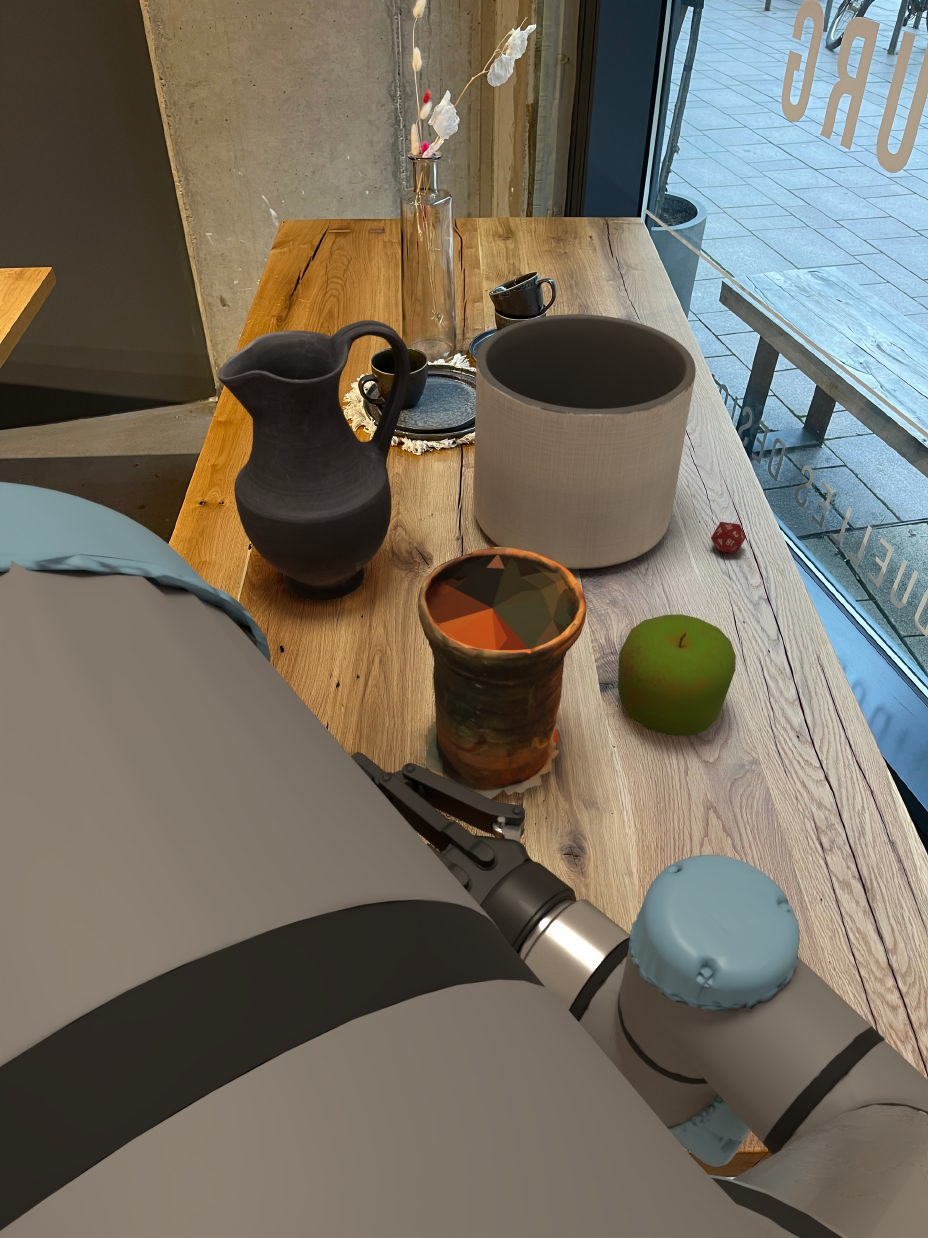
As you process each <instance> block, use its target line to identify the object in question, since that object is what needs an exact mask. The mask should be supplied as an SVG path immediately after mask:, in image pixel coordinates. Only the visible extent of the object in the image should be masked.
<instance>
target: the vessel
mask: <svg viewBox="0 0 928 1238" xmlns="http://www.w3.org/2000/svg"><path fill="white" fill-rule="evenodd" d="M417 614H418V618H419V622H420V626H421V628H422V632H423V634H424V637H425V638H426V640H427V642H428V646H429V648H430V650H431V653H432V657H433V668H432V669H433V672H432V680H433V695H434V712H435V713H434V714H435V720H434V721H433V722H432V724H433V726H432V727H430V728H429V729H428V731H427V733H426V734H423V736H424V739H425V741H426V743H427V746H426V747H427V748H426V752H425V757H424V761H425V767H426V769H427V770H429V771H431V772H434V773H436V774H438V775H440V776H442V777H444V778H446V779H448V780H451V781H453V782H455V783H457V784H459V785H461V786H463V787H466V788H468V789H470V790H472V791H474V792H476V793H478V794H480V795H483V796H485V797H487V798H489V799H493V798H495V797H497V795H498V794H500V793H501V792H502V791H503V790H504V792H505V793H506V794H507V796H509V795H511V794H513V793H514V792H515V793H519V794H522V793H524V792H525V791H526V789H529V788H532V787H538V786H541V785H542V778H541V776H542V775H544V774H547V773H549V772H551V771H552V764H553V763H552V760H553V759H554V758H555V757H557V756H558V754H559V752H560V750H558V749H555V747H556V745H557V744H558V743H559V734H558V733H559V732H558V729H556V728H555V727H556V724H557V718H558V717H557V716H558V713H559V710H560V704H561V701H562V700H561V699H562V690H563V675H564V669H565V657H566V655H567V652H568V651H569V650H571V648H572V647H573V646H574V644H576V642H577V641H578V639H579V638H580V636H581V634H582V633H583V629H584V625H585V622H586V617H587V603H586V597H585V595H584V592H583V589H582V586H581V583H580V582H579V580H578V579H577V577H575V575H574V574H573V573H572V572H571V571H570V569H566V568H565V567H564V566H562V565H560V564H559V563H557V562H555V561H553V560H551V559H548V558H546V557H544V556H541V555H539V554H537V553H534V552H529V551H524V550H520V549H514V548H508V547H500V546H492V547H485V548H482V549H476V550H475V551H471V552H470V553H467V554H463V555H460V556H457V557H454V558H452V559H450V560H449V559H448V560H447V561H445V562H443V563H441V564H439V565H437V566H435V567H434V568H433V570H432V571H431V572H430V573H429V574H428V575H427V576H425V578H424V579H423V581H422V584H421V586H420V589H419V593H418V597H417Z"/></svg>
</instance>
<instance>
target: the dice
mask: <svg viewBox="0 0 928 1238" xmlns="http://www.w3.org/2000/svg"><path fill="white" fill-rule="evenodd" d="M718 523H719V524H718V525H717V527H716V529H715V530H714V532H713V533H712V535H711V537H710V540H711V542H712V543H713V545H714V547H715V549H716V551H717V552H723V553H729V554H730V553H731V554H736V555H737V554H738V552H739V550H740V548H741V547H742V546H743V544H744V542H745V540H746V539H747V536H746V534H745V532H744V529H743V528H742V525H741V524H740V523H733V522H727V521H720V522H718Z"/></svg>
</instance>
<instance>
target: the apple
mask: <svg viewBox="0 0 928 1238" xmlns="http://www.w3.org/2000/svg"><path fill="white" fill-rule="evenodd" d="M736 658H737V655H736V653H735V650H734V646H733V643H732V641H731V640H730V639H729V638H728V637H727V636H726V634H725V633H724V632H723V630H721V629H720V628H719V627H717V626H715V625H713V624H711V623H710V622H708V621H706V620H703V619H701V618H699V617H694V616H692V615H691V616H690V615H687V614H682V613H681V614H680V613H679V614H663V615H659V616H655V617H652V618H648V619H644V620H642V621H641V622H639V623H638V624H637V625H635V626H633V627H632V628H631V629H630V631H629V633H628V635H627V636H626V638H625V641H624V643H623V645H622V647H621V649H620V651H619V652H618V672H617V673H618V674H617V693H618V697H619V702H620V705H621V706H622V708H623V710H624V711H625V713H626V714H627V716H628V717H629V719H630V720H632V722H633V721H634V722H635V723H637V725H640V726H641V727H643V728H645V729H646V730H648V731H652V732H654V733H658V734H661V735H664V736H668V737H669V736H671V737H690V736H694V735H697V734H700V733H704V732H706V731H708V730H709V728H711V726H712V725H714V724H715V722H717V720H718V719H719V716H720V713H721V711H722V709H723V706H724V704H725V701H726V698H727V696H728V692H729V690H730V687H731V683H732V681H733V678H734V676H735V673H736V662H737V661H736V660H737V659H736Z"/></svg>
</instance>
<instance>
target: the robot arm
mask: <svg viewBox="0 0 928 1238" xmlns="http://www.w3.org/2000/svg"><path fill="white" fill-rule="evenodd" d="M271 657H272V655H271V650H270V647H269V642H268V639H267V637H266V635H265V633H264V631H263V630H262V629H261V626H259V624H258V623H257V622H256V620H255V619H254V618H253V617H252V615H251V613H249V611H248V609H246V608H245V606H243V605H242V604H241V603H240V602H239V600H237V599H236V598H234V597H233V596H232V595H230V594H229V593H228V592H226V591H225V590H223V589H221V588H218V587H215V586H212V585H211V584H209V583H207V582H206V581H205V580H204V578H203V577H202V576H200V574H199V573H198V572H197V571H196V570H195V569H194V568H193V567H192V566H191V564H189V563H188V562H187V561H186V559H184V558H183V556H181V554H179V553H178V552H177V551H176V550H175V549H174V547H172V546H170V544H168V542H166V541H165V540H164V539H163V538H161V537H160V536H159V535H157V534H155V533H154V532H153V531H151V530H150V529H149V528H148V527H145V526H144V525H143V524H141V523H139V522H137V521H135V520H134V519H132V518H130V517H128V516H127V515H125V514H123V513H122V512H121V513H120V512H118V511H116V510H114V509H112V508H110V507H107V506H105V505H103V504H99V503H97V502H94V501H91V500H88V499H86V498H83V497H80V496H77V495H73V494H70V493H66V492H63V491H58V490H55V489H50V488H45V487H41V486H40V487H39V486H35V485H30V484H21V483H13V482H5V481H0V1238H928V1078H927V1077H926V1076H924V1074H922V1073H921V1072H920V1071H919V1070H918V1069H917V1068H916V1067H915V1066H914V1065H913V1064H911V1062H909V1061H908V1060H907V1058H905V1057H904V1056H903V1055H902V1054H901V1053H900V1052H898V1050H896V1049H895V1048H894V1047H893V1046H892V1045H891V1044H890V1043H889V1042H887V1041H886V1039H885V1036H883V1035H882V1034H881V1033H879V1032H878V1030H877V1029H876V1028H875V1027H874V1026H873V1025H872V1024H871V1023H869V1021H867V1020H866V1018H864V1017H863V1016H862V1015H861V1014H860V1013H859V1012H858V1011H857V1010H856V1009H855V1008H854V1007H852V1006H851V1004H849V1003H848V1002H847V1001H846V999H844V998H843V997H842V996H841V995H840V994H839V993H838V992H837V991H835V990H834V989H833V988H832V987H831V986H830V985H829V984H828V983H827V982H826V980H824V979H823V978H822V977H821V976H820V975H819V974H818V973H816V972H815V971H814V970H813V969H812V968H811V967H810V966H809V965H808V964H806V963H805V961H803V960H802V959H801V958H800V957H799V948H800V941H801V939H800V938H801V936H800V935H801V934H800V925H799V920H798V919H797V917H796V915H795V911H794V909H793V907H792V906H791V904H790V902H789V901H790V900H789V899H788V898H787V895H786V894H785V892H784V891H783V889H782V888H781V887H780V885H778V883H776V881H774V880H773V879H772V878H771V877H770V876H769V875H767V874H766V873H765V872H763V871H762V870H760V869H759V868H757V867H756V866H754V865H751V864H750V863H748V862H745V861H743V860H740V859H738V858H734V857H730V856H726V855H720V854H719V855H718V854H699V855H693V856H689V857H686V858H682V859H680V860H677V861H675V862H673V863H672V864H669V865H668V866H666V867H665V868H663V870H662V871H661V872H659V874H658V875H657V876H656V877H655V878H654V879H653V881H652V882H651V883H650V885H649V887H648V889H647V891H646V894H645V896H644V899H643V901H642V904H641V907H640V909H639V912H638V913H637V914H636V918H635V920H634V921H633V922H632V924H631V929H630V931H629V932H630V933H629V932H628V931H627V930H625V929H624V928H623V927H621V926H620V925H619V924H618V923H617V922H616V921H614V920H613V919H612V918H611V917H609V916H608V915H607V914H606V913H605V912H603V911H602V910H601V909H600V908H598V907H597V906H596V905H594V904H593V903H592V902H591V901H589V900H588V899H586V898H583V899H582V898H581V899H578V900H577V896H576V890H574V888H572V887H571V886H570V885H569V884H568V883H566V882H565V881H563V880H562V879H561V878H560V877H558V876H557V875H556V874H555V873H554V872H552V871H551V870H549V868H547V867H545V866H544V864H542V863H540V862H538V861H535V860H533V859H532V858H531V856H530V855H529V853H528V851H527V849H526V847H525V846H524V844H523V843H522V842H521V838H522V837H523V836H524V833H525V826H526V825H525V823H526V809H525V807H523V805H520V804H515V803H510V802H509V803H508V802H502V801H495V800H494V799H492V798H490V799H489V798H487V797H485V796H483V795H480V794H478V793H476V792H474V791H472V790H470V789H468V788H466V787H463V786H461V785H459V784H457V783H455V782H453V781H451V780H448V779H446V778H444V777H442V775H441V776H440V775H438V774H436V773H434V772H431V771H430V770H429V769H428V768H425V767H423V766H421V765H420V764H419V765H418V764H416V763H414V762H407V763H405V764H404V765H403V766H402V768H401V769H400V770H397V771H394V772H390V771H385V770H384V769H383V768H381V767H380V765H378V764H377V763H376V762H374V760H373V761H372V760H371V759H370V757H368V756H366V755H365V754H364V753H363V752H359V751H356V752H354V753H353V754H352V755H350V754H349V752H348V751H347V750H346V749H345V747H343V745H341V743H340V742H339V741H338V740H337V738H336V737H335V736H334V735H333V734H332V733H331V732H330V730H329V729H328V728H327V727H326V726H325V724H324V723H323V722H322V721H321V720H320V719H319V718H318V716H317V715H316V714H315V713H314V712H313V711H312V709H311V708H310V707H309V706H308V705H307V704H306V702H304V700H303V699H302V698H301V697H300V696H299V694H298V693H297V692H296V691H295V690H294V689H293V687H292V686H291V685H290V684H289V683H288V682H287V681H286V680H285V678H284V677H283V676H282V675H281V673H280V672H279V671H278V670H277V669H276V668H275V667H274V666H273V664H272V663H271ZM444 814H446V815H448V816H450V817H452V818H454V819H457V820H458V821H461V822H463V823H465V824H466V825H469V826H471V827H473V828H475V829H477V830H479V831H481V832H482V833H483V832H484V833H486V834H489V835H492V836H488V835H479V834H473V833H471V831H469V830H468V829H466V828H465V827H464V826H463V825H462V824H461V823H459V822H458V821H457V820H453V821H452V820H451V819H449V818H448V817H447V816H445V815H444ZM425 841H427V842H428V843H426V842H425ZM751 1133H752V1134H753V1135H754V1136H755V1137H756V1138H757V1139H758V1140H759V1141H760V1143H761V1144H763V1146H764V1147H765V1148H766V1149H767V1150H768V1151H769V1153H770V1155H771V1156H769V1157H768V1158H766V1159H764V1160H762V1161H760V1162H759V1163H757V1164H755V1165H754V1166H752V1167H751V1168H749V1169H747V1170H745V1171H743V1172H742V1173H740V1174H738V1175H737V1176H735V1177H733V1178H729V1177H726V1176H721V1175H715V1174H709V1173H708V1172H707V1171H706V1170H705V1169H704V1168H702V1166H701V1165H700V1164H699V1163H698V1162H697V1161H696V1160H695V1159H694V1158H693V1157H692V1156H694V1157H696V1158H697V1159H698V1160H699V1161H701V1162H702V1163H703V1164H705V1165H708V1166H711V1167H717V1168H718V1167H723V1166H725V1165H727V1164H729V1163H730V1162H731V1161H732V1160H733V1158H734V1157H735V1155H737V1153H738V1151H739V1150H740V1149H741V1147H742V1146H743V1145H744V1143H745V1142H746V1140H747V1139H748V1137H749V1135H750V1134H751ZM691 1154H692V1156H691Z"/></svg>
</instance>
